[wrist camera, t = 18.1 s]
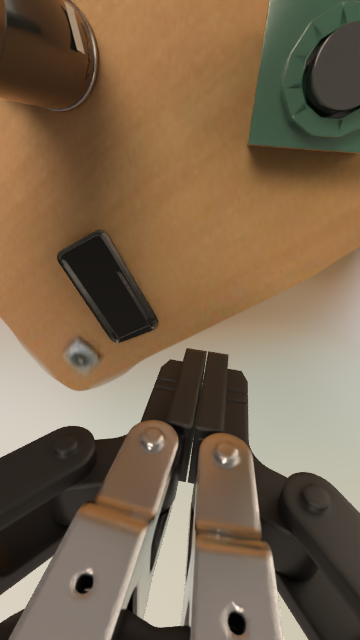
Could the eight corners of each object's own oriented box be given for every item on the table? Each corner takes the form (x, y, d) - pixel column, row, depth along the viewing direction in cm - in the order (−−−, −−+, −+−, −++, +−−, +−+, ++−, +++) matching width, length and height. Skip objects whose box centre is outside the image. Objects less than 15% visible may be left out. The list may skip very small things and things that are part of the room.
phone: (114, 344, 47) (53, 254, 41) (116, 340, 48) (57, 252, 42) (159, 327, 44) (100, 228, 39) (161, 323, 45) (103, 226, 40)
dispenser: (246, 145, 33) (247, 143, 24) (263, 31, 28) (272, -20, 20) (357, 153, 32) (400, 155, 23) (393, 36, 27) (463, -17, 19)
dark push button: (298, 111, 23) (304, 107, 21) (315, 32, 21) (323, 19, 19) (362, 115, 23) (374, 112, 20) (385, 35, 20) (403, 21, 18)
